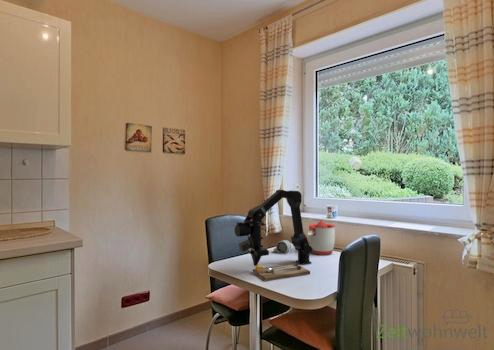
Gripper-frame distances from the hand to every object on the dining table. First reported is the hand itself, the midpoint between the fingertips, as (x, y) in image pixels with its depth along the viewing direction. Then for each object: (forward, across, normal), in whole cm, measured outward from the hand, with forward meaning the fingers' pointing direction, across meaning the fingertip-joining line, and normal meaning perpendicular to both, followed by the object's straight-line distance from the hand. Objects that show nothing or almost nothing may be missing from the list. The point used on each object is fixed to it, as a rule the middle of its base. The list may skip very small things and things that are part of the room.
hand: (255, 265), depth 153 cm
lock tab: (+1, +4, 0) cm, 4 cm away
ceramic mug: (+3, -27, +30) cm, 41 cm away
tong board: (+2, +8, +10) cm, 13 cm away
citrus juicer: (+3, -16, +51) cm, 53 cm away
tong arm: (+1, +9, +11) cm, 14 cm away
